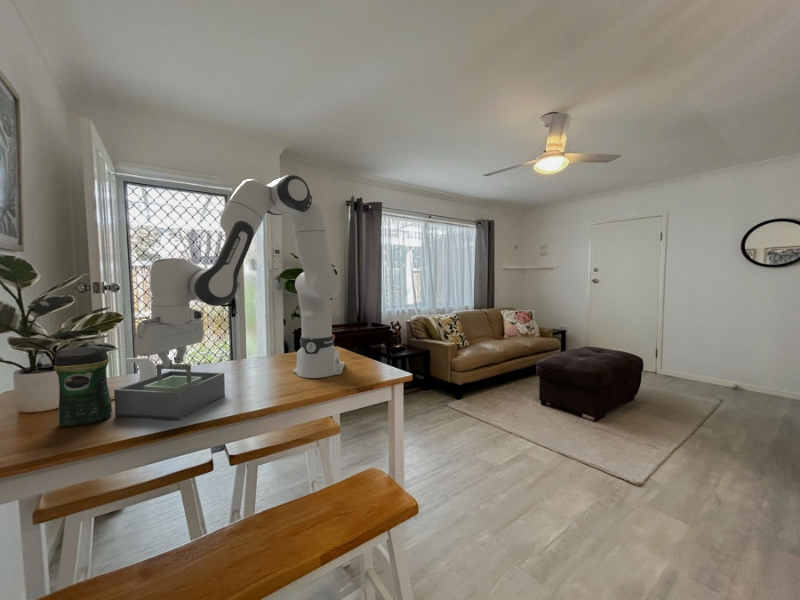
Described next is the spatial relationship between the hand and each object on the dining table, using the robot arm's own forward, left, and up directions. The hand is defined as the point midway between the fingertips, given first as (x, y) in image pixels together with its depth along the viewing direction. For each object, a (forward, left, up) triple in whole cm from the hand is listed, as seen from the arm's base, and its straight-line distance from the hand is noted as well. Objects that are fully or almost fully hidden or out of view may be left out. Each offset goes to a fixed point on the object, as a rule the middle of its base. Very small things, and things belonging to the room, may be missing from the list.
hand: (173, 364), depth 93 cm
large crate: (0, 0, -12) cm, 12 cm away
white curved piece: (-6, -16, -12) cm, 21 cm away
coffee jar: (+12, -14, -12) cm, 22 cm away
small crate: (0, 0, -11) cm, 11 cm away
